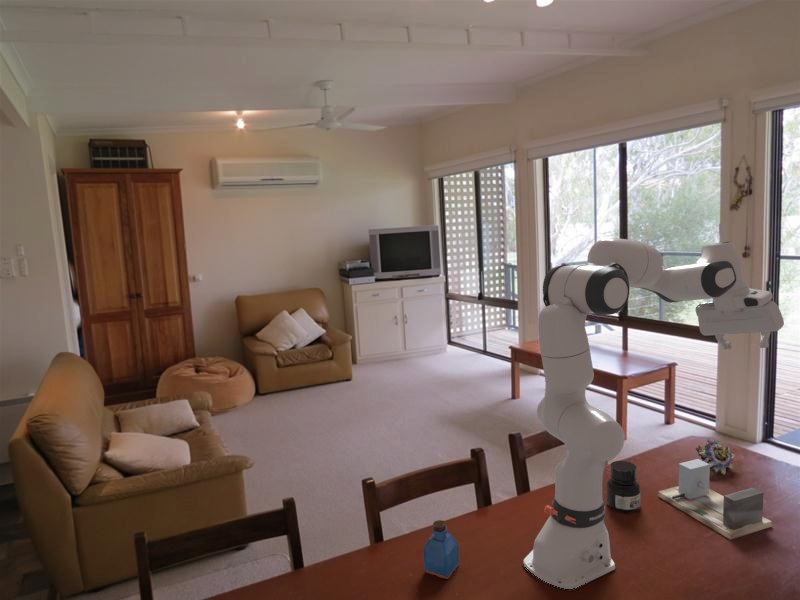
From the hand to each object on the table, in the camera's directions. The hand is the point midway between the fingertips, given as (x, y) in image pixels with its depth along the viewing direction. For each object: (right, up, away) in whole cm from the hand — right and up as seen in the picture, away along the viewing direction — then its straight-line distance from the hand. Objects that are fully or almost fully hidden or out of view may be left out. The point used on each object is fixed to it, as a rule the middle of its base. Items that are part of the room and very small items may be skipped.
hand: (745, 348), depth 150 cm
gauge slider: (-11, -43, +7) cm, 45 cm away
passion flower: (+6, -41, +27) cm, 49 cm away
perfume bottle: (-83, -53, -15) cm, 100 cm away
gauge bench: (-7, -45, +3) cm, 46 cm away
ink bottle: (-30, -46, +9) cm, 55 cm away
